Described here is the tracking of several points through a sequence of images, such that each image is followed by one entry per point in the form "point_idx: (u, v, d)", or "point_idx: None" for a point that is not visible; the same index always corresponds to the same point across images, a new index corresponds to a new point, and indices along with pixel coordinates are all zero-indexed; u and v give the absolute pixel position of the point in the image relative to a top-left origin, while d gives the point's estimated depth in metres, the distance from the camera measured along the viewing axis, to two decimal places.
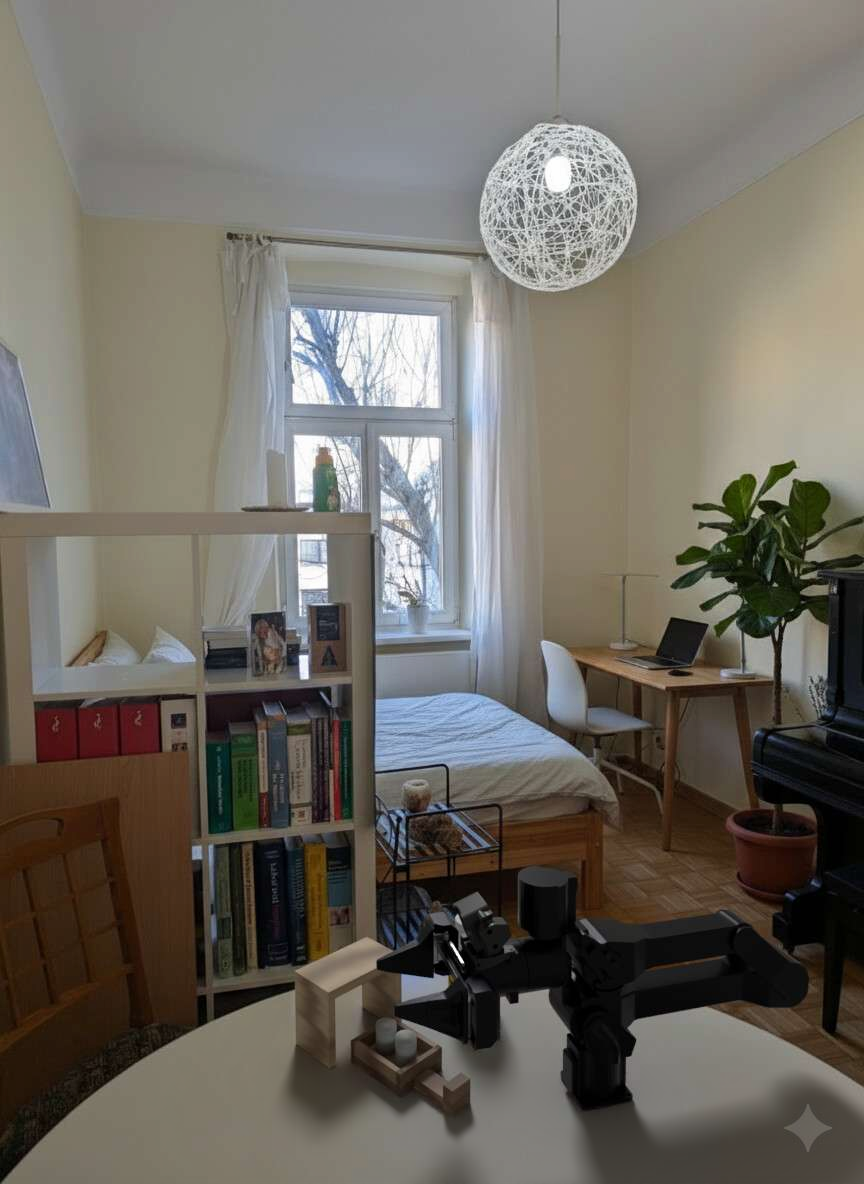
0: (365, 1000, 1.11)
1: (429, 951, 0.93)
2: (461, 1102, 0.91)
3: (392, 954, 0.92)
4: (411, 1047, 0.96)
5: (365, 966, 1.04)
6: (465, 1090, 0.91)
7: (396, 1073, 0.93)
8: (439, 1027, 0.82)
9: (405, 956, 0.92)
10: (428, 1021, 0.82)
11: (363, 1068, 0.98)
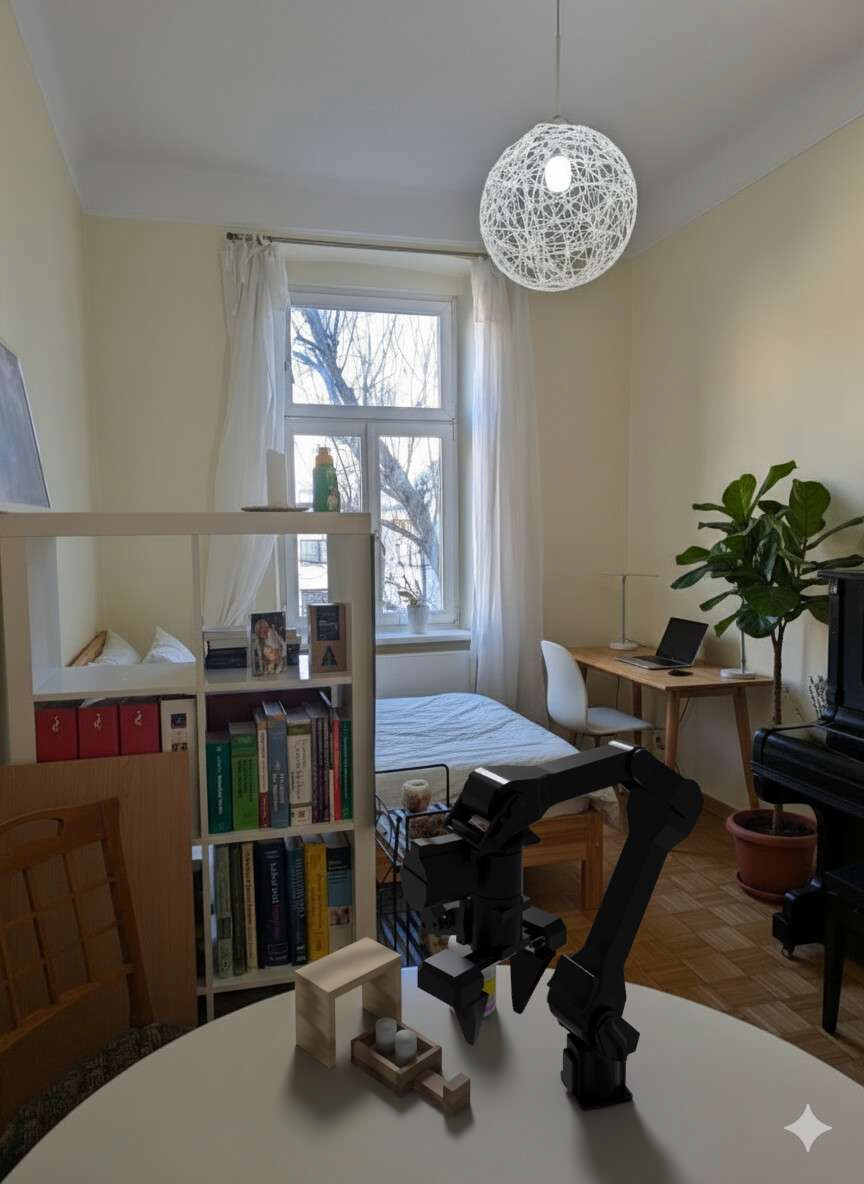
0: (365, 1000, 1.11)
1: (518, 954, 0.90)
2: (461, 1102, 0.91)
3: None
4: (411, 1047, 0.96)
5: (365, 966, 1.04)
6: (465, 1090, 0.91)
7: (396, 1073, 0.93)
8: (472, 1016, 0.81)
9: (517, 981, 0.90)
10: (469, 1021, 0.82)
11: (363, 1068, 0.98)
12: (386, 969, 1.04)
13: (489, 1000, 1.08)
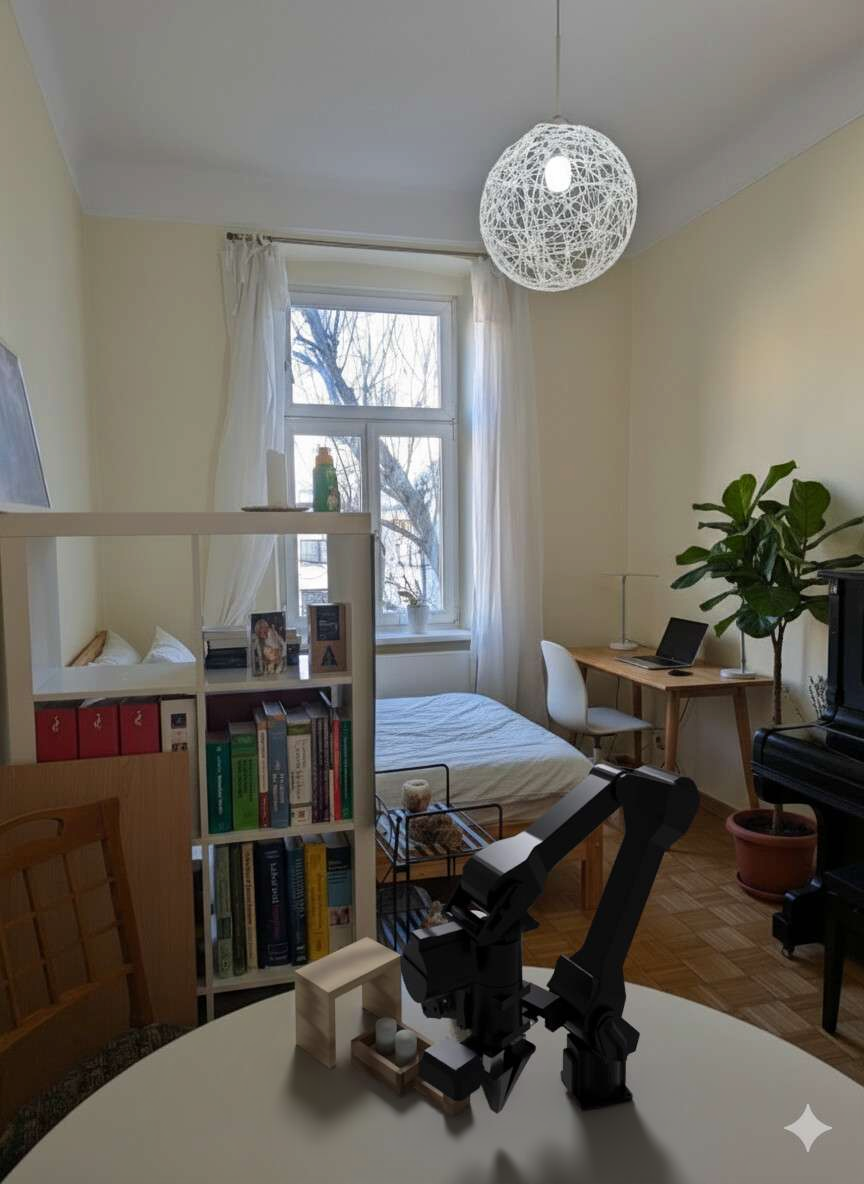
0: (365, 1000, 1.11)
1: None
2: (461, 1102, 0.91)
3: None
4: (411, 1047, 0.96)
5: (365, 966, 1.04)
6: None
7: (396, 1073, 0.93)
8: (497, 1086, 0.85)
9: None
10: (494, 1091, 0.85)
11: (363, 1068, 0.98)
12: (386, 969, 1.04)
13: None
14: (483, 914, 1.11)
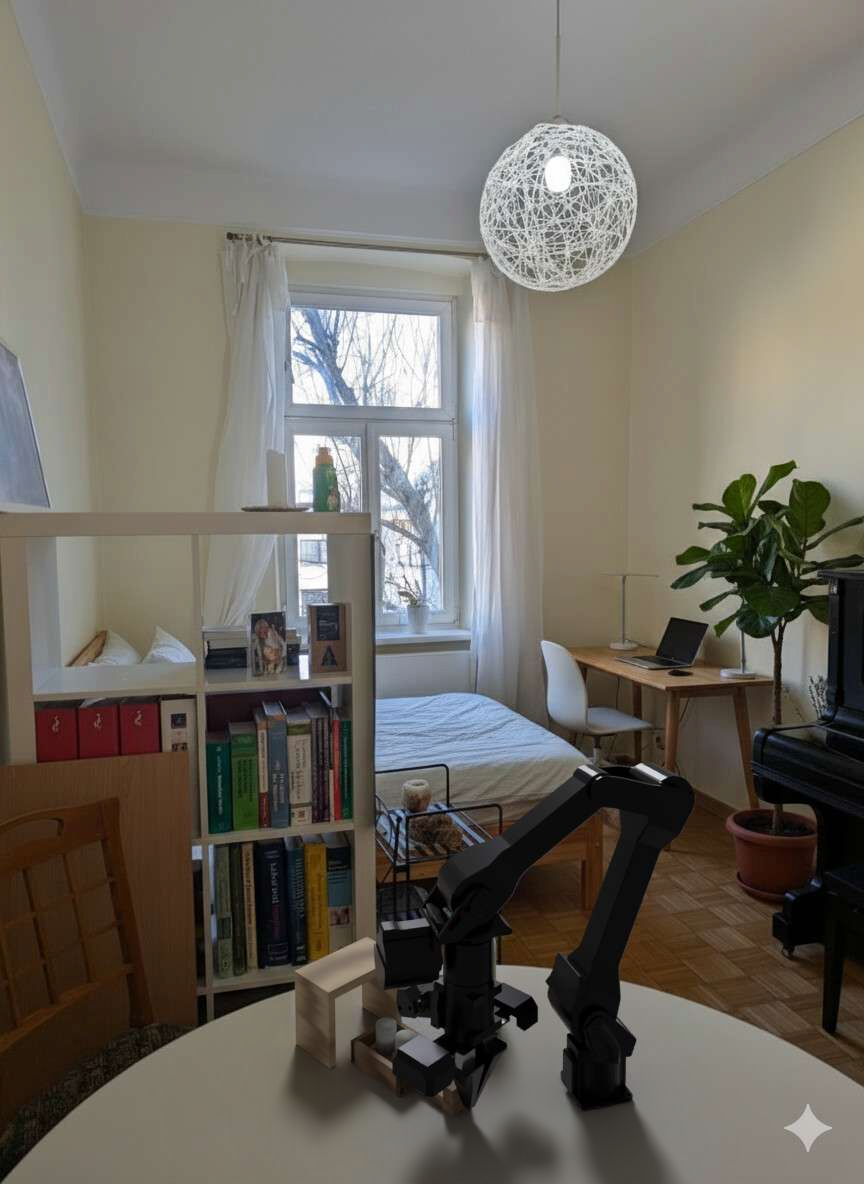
0: (365, 1000, 1.11)
1: None
2: (461, 1102, 0.91)
3: None
4: None
5: (365, 966, 1.04)
6: None
7: None
8: (469, 1083, 0.87)
9: None
10: (466, 1088, 0.88)
11: (363, 1068, 0.98)
12: None
13: None
14: None
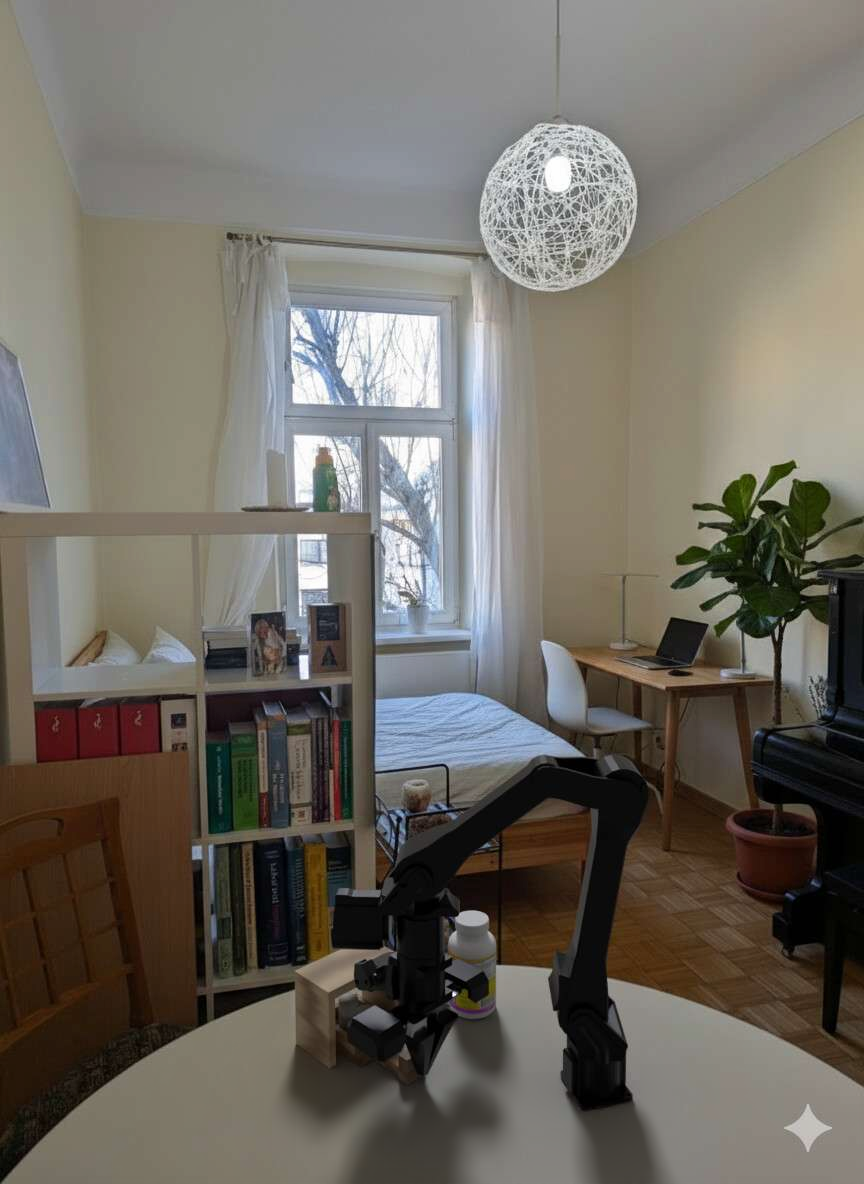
0: None
1: None
2: None
3: None
4: None
5: None
6: None
7: None
8: (421, 1051, 0.93)
9: None
10: (419, 1056, 0.94)
11: None
12: None
13: (489, 1000, 1.08)
14: (483, 914, 1.11)
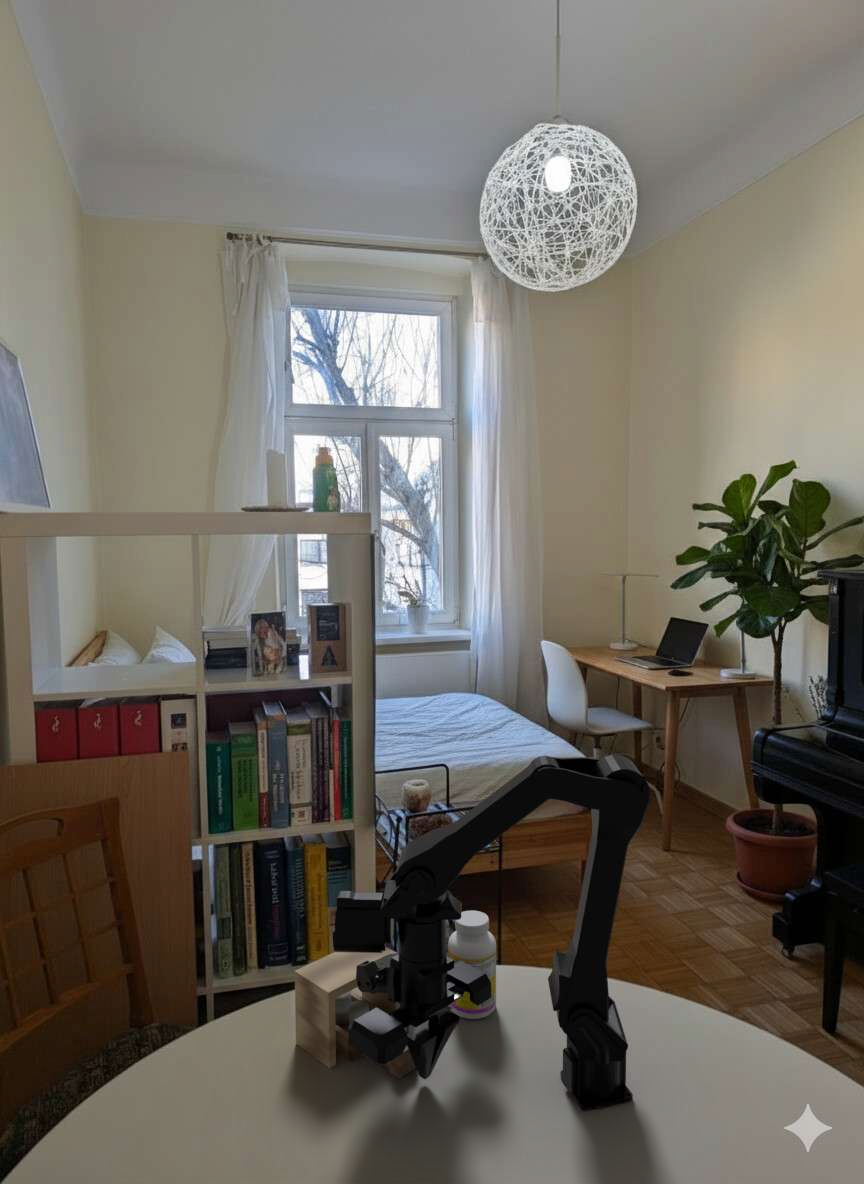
0: None
1: None
2: (408, 1065, 0.97)
3: None
4: None
5: None
6: None
7: (348, 1039, 1.00)
8: (422, 1053, 0.93)
9: None
10: (421, 1058, 0.94)
11: None
12: None
13: (489, 1000, 1.08)
14: (483, 914, 1.11)
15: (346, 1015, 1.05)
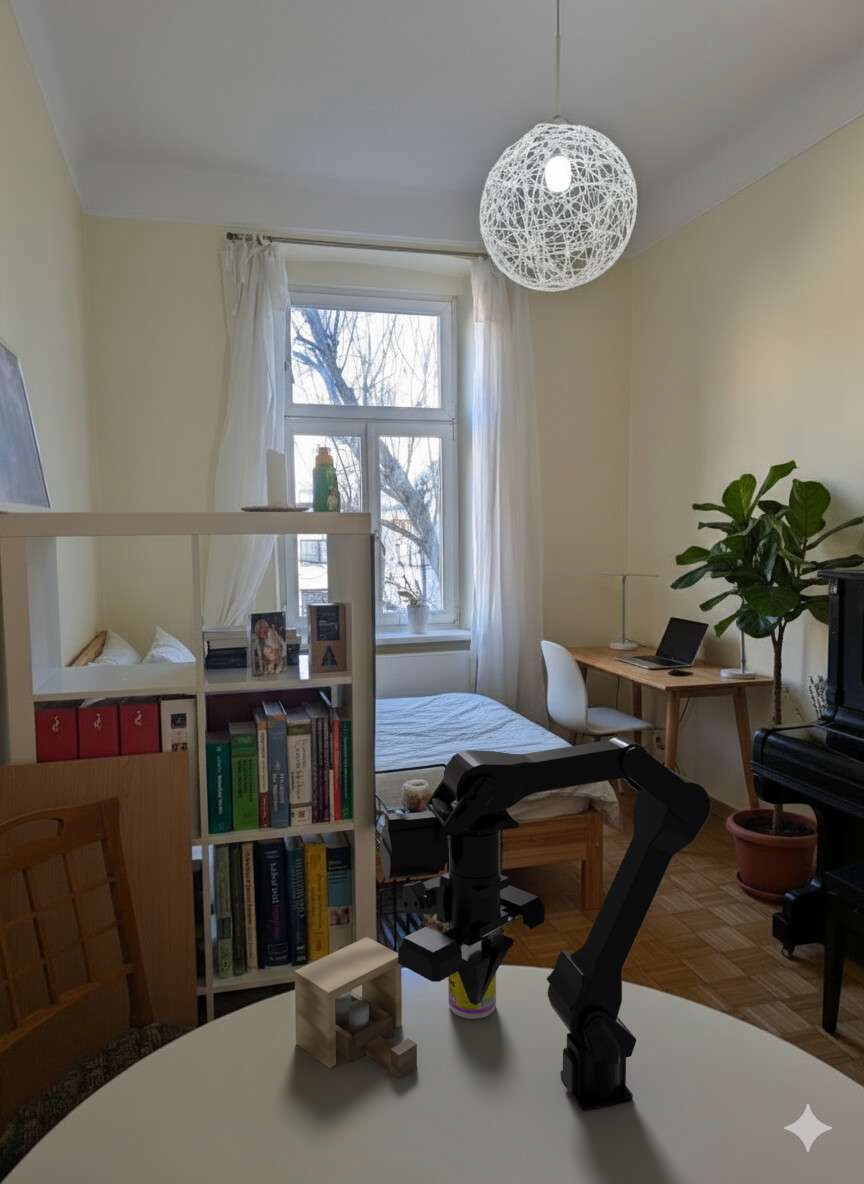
0: None
1: None
2: (408, 1065, 0.97)
3: None
4: (363, 1016, 1.02)
5: (365, 966, 1.04)
6: (412, 1054, 0.98)
7: (348, 1039, 1.00)
8: (475, 976, 0.87)
9: None
10: (473, 982, 0.88)
11: None
12: (386, 969, 1.04)
13: (489, 1000, 1.08)
14: None
15: (346, 1015, 1.05)
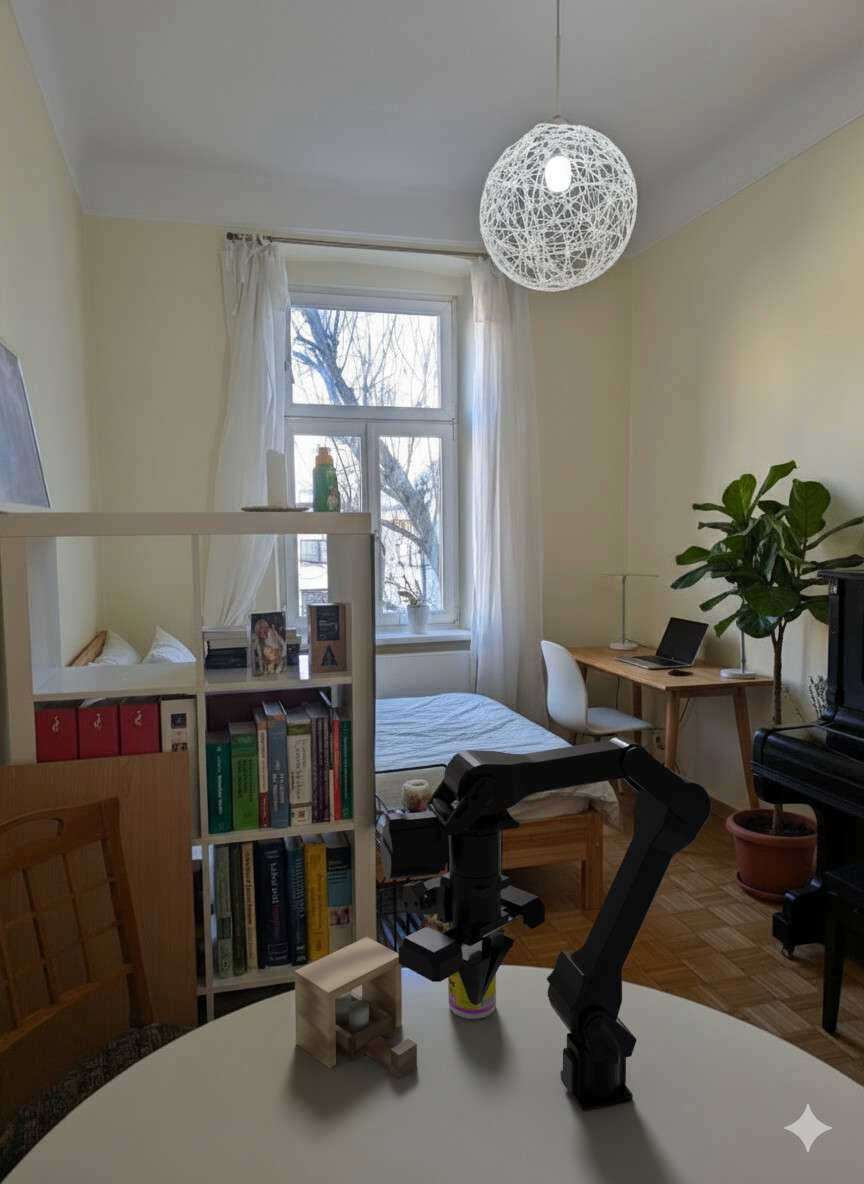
0: None
1: None
2: (408, 1065, 0.97)
3: None
4: (363, 1016, 1.02)
5: (365, 966, 1.04)
6: (412, 1054, 0.98)
7: (348, 1039, 1.00)
8: (475, 976, 0.87)
9: None
10: (473, 982, 0.88)
11: None
12: (386, 969, 1.04)
13: (489, 1000, 1.08)
14: None
15: (346, 1015, 1.05)
